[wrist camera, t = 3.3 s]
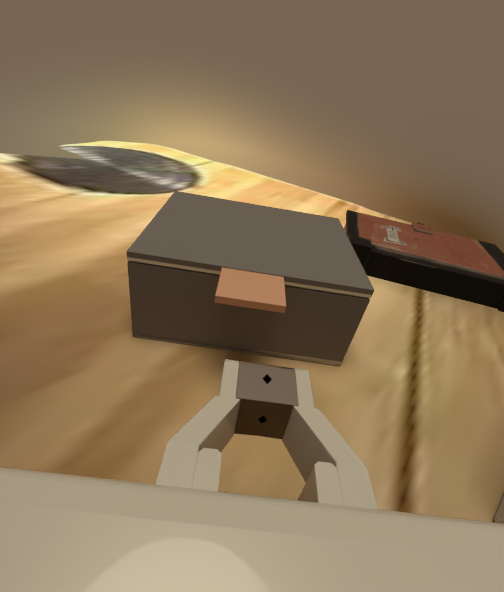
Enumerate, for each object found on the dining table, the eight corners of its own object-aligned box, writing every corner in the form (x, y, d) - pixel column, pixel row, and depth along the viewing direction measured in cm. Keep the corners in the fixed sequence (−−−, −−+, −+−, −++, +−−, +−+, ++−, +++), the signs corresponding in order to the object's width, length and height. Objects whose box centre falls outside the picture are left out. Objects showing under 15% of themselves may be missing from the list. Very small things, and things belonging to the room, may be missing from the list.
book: (479, 264, 60) (494, 240, 57) (521, 319, 45) (545, 290, 43) (339, 231, 63) (348, 206, 60) (338, 272, 48) (349, 242, 45)
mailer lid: (106, 287, 22) (105, 277, 22) (175, 197, 39) (175, 191, 38) (385, 329, 23) (389, 320, 23) (336, 224, 40) (338, 218, 39)
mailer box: (132, 336, 30) (127, 262, 26) (173, 257, 43) (175, 199, 39) (340, 366, 31) (369, 299, 27) (318, 280, 44) (335, 226, 40)
